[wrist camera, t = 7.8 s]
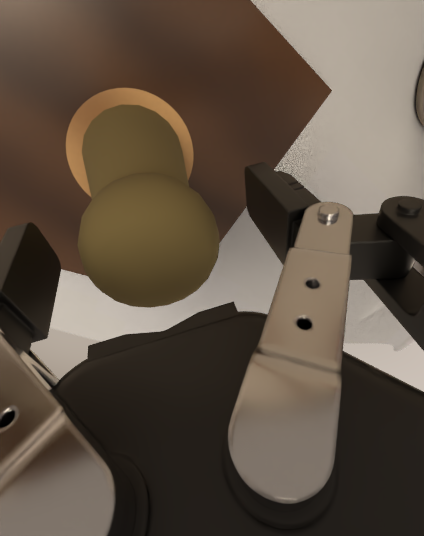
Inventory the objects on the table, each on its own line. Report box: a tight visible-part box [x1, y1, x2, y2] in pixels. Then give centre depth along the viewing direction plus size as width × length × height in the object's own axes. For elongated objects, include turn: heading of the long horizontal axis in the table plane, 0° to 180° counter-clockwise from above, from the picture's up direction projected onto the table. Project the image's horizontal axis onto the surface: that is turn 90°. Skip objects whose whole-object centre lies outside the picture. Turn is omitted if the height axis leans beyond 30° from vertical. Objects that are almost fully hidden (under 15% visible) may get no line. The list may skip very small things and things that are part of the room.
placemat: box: [0, 0, 332, 276], centre depth 18 cm, size 20×18×1 cm
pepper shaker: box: [77, 104, 220, 307], centre depth 14 cm, size 6×6×11 cm
